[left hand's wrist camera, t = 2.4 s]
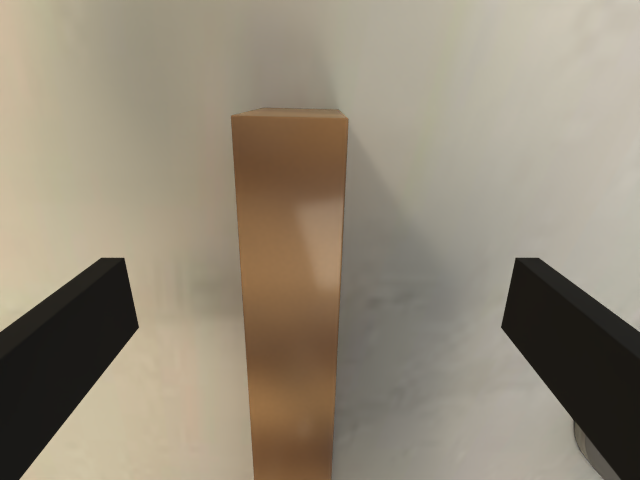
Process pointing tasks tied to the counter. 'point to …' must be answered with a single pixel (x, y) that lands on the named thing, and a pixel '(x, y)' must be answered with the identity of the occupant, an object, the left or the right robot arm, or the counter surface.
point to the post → (291, 281)
